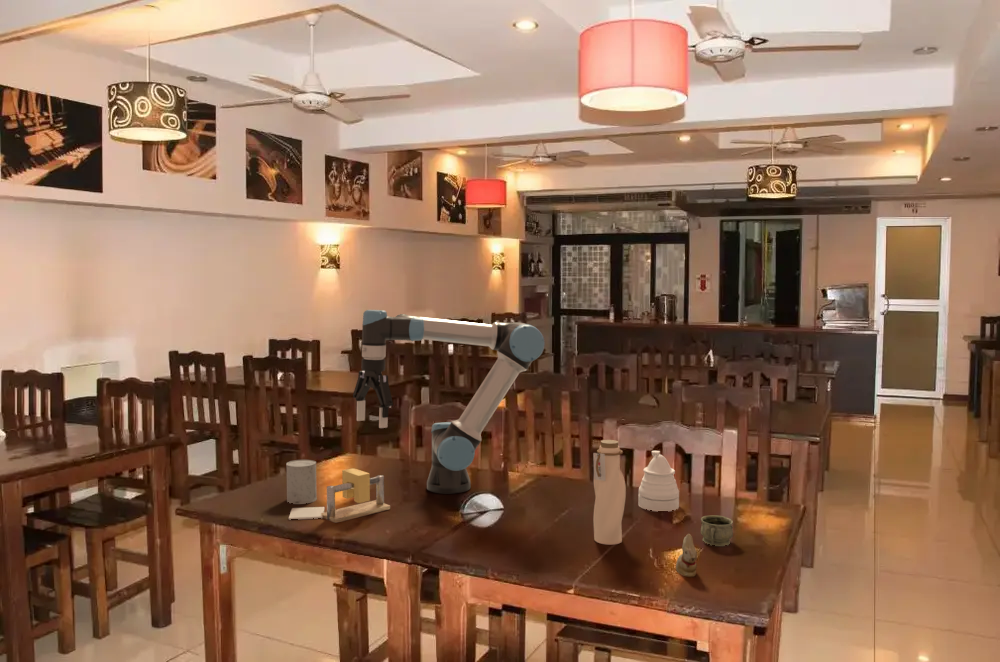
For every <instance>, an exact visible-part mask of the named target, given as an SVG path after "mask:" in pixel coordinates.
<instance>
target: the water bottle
mask: <svg viewBox="0 0 1000 662" xmlns="http://www.w3.org/2000/svg"><path fill="white" fill-rule="evenodd" d="M623 453H624V452H623V450H622V449H621V448H620V446H619V441H618V440H615V439H614V440H613V439H602V440H600V445H599V448H598V449H597V450H596V452H593V457H592V458H593V488H594V489H593V490H594V495H595V501H594V507H593V538H594V539H593V540H594V541H595V542H596V543H599V544H602V545H618V544H620V543H622V542H623V534H622V533H623V532H622V531H623V530H622V529H623V528H622V527H623V526H622V520H623V517H624V511H625V504H626V495H627V491H626V490H627V489H626V481H625V480H626V479H625V478H624V473H623V472H622V470H621V467H620V466H621V459H620V458H621V455H623Z"/></svg>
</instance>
